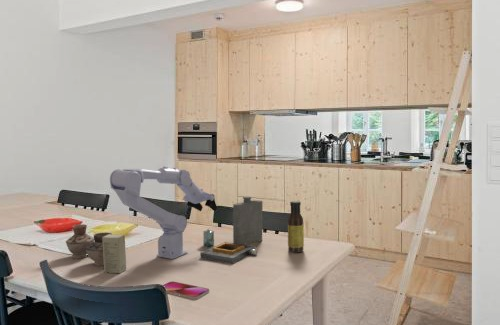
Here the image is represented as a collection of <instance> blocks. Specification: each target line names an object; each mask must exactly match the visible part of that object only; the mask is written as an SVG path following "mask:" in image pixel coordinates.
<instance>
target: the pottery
mask: <svg viewBox="0 0 500 325" xmlns="http://www.w3.org/2000/svg"><path fill="white" fill-rule="evenodd" d="M87 226H88V225H87V224H82V223H80V224H75V225H72V230H73V235H72V236H70V237H69V238H68V239H66V240H65V243H66V247H67V248H68V251H69V252H70V253H71V254H72V256H71V257H73V258H72V259H83V258H87V255H86V254H88V257H89V259H90V260H92V261H94V266H97V265H98V266H97V267H104V266H103V265H104V261H103V241H102V237H104V236H106V235H108V234H113V233H112V232H98V233H94V234H93V236H91V235H89V234H87V228H88V227H87Z"/></svg>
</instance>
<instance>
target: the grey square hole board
mask: <svg viewBox="0 0 500 325" xmlns="http://www.w3.org/2000/svg"><path fill="white" fill-rule="evenodd" d="M249 255H253V256H257V255H258V249H256V245H249V244H245V245H244V244H237V243H233V242H229V241H224V242H221V243H220V244H217V245H216V246H215V245H214V246H213V247H209V248H208V249H206V250H203V251H201V252H200V259H203V260H209V261H216V262H223V263H229V264H234V263H236V262H238V261H240V260H242V259H244V258H245V257H247V256H249Z"/></svg>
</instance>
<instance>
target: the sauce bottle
mask: <svg viewBox="0 0 500 325" xmlns="http://www.w3.org/2000/svg"><path fill="white" fill-rule="evenodd" d="M289 204H290V214H289V216H288V218H287V246H288V252H290V253H301V252H303V251H304V246H305V244H304V241H305V240H304V236H305V234H304V231H305V229H304V217H303V216H302V214H301V201H298V200H291V201H290V202H289Z"/></svg>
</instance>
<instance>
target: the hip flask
mask: <svg viewBox="0 0 500 325" xmlns="http://www.w3.org/2000/svg"><path fill="white" fill-rule="evenodd" d="M242 199H243V202H237V203H233V205H232V207H233V208H232V214H233V215H232V219H233V222H232V223H233V225H232V226H233V227H232V232H233V236H232V237H233V238H232V241H233V242H232V243H237V244H244V245H249V244H253V243H256V242H262V241H263V200H256V199H255V200H253V199H252V196H249V195H248V196H242Z"/></svg>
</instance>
